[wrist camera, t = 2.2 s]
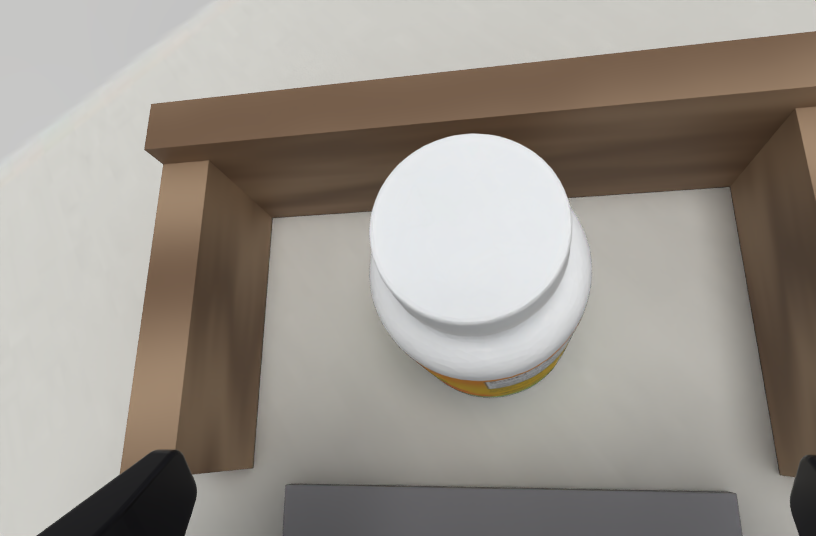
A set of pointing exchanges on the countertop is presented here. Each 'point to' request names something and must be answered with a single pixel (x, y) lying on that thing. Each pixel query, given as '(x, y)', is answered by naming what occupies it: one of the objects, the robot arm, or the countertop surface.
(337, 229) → the countertop surface
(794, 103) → the brown walled open frame
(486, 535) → the mat
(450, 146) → the supplement bottle
